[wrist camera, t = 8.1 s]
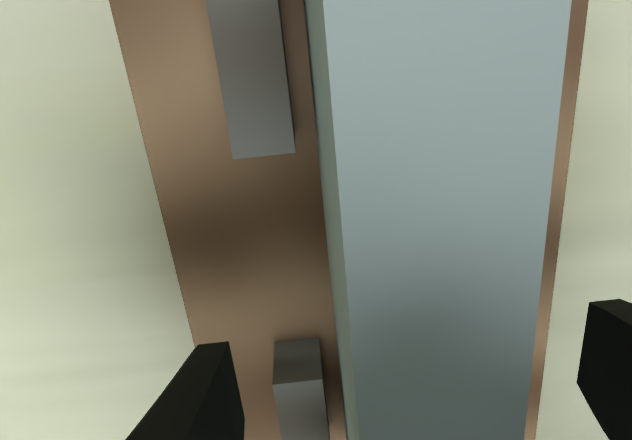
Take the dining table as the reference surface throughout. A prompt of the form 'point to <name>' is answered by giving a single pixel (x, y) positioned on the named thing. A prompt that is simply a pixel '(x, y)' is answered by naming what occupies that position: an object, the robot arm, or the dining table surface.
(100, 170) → the dining table surface
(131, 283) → the dining table surface
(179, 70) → the hinge rail
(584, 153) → the dining table surface
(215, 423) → the robot arm
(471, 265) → the door panel
